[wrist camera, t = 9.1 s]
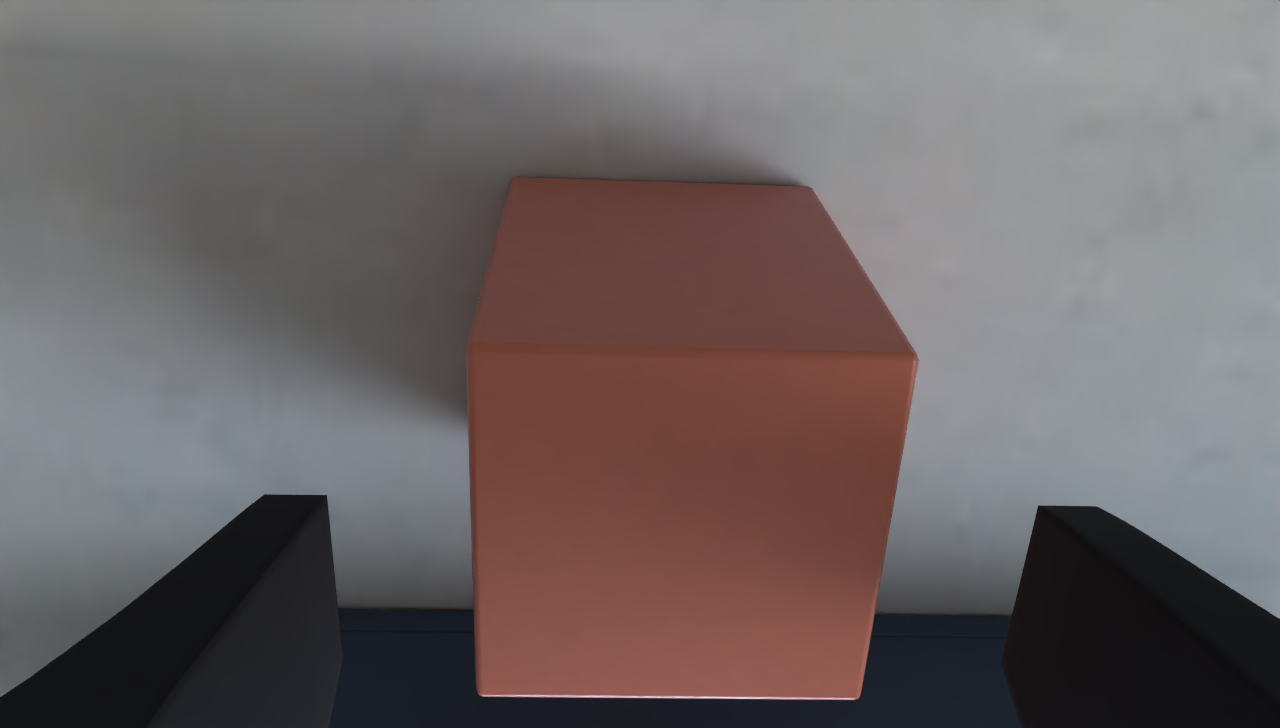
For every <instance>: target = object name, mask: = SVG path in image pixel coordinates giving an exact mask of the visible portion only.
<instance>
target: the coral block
mask: <svg viewBox="0 0 1280 728" xmlns="http://www.w3.org/2000/svg"><path fill="white" fill-rule="evenodd" d="M918 361H919V360H918V356H917V354H916V352H915V350H914V349H913V347H912V346H911V344H910V343H909V341H908V339H907V338H906V336H905V335H904V333H903V331H902V330H901V328H900V327H899V325H898V324H897V322H896V320H895V319H894V317H893V316H892V314H891V312H890V311H889V309H888V308H887V306H886V305H885V303H884V301H883V300H882V298H881V297H880V295H879V293H878V292H877V290H876V289H875V287H874V286H873V284H872V282H871V281H870V279H869V278H868V276H867V274H866V273H865V271H864V270H863V268H862V267H861V265H860V263H859V262H858V260H857V259H856V257H855V256H854V254H853V252H852V251H851V249H850V248H849V246H848V244H847V243H846V241H845V240H844V238H843V237H842V235H841V233H840V232H839V230H838V229H837V227H836V225H835V224H834V222H833V221H832V219H831V218H830V216H829V214H828V213H827V211H826V210H825V208H824V206H823V205H822V203H821V202H820V200H819V199H818V197H817V195H816V194H815V192H814V191H813V189H812V188H810V187H806V186H776V185H746V184H716V183H685V182H655V181H625V180H594V179H564V178H534V177H515V178H512V180H511V183H510V186H509V190H508V194H507V197H506V201H505V205H504V209H503V212H502V216H501V220H500V223H499V227H498V231H497V235H496V238H495V242H494V246H493V250H492V253H491V257H490V261H489V265H488V268H487V272H486V276H485V279H484V283H483V287H482V291H481V294H480V298H479V302H478V306H477V309H476V313H475V317H474V320H473V324H472V328H471V332H470V335H469V339H468V343H467V347H466V371H467V405H468V438H469V472H470V506H471V540H472V574H473V608H474V641H475V675H476V690H477V692H478V694H479V695H480V696H483V697H572V698H686V699H800V700H855V699H858V698H859V697H860V695H861V690H862V684H863V679H864V673H865V667H866V661H867V656H868V650H869V644H870V638H871V632H872V627H873V621H874V615H875V609H876V604H877V598H878V592H879V586H880V580H881V575H882V569H883V563H884V557H885V551H886V546H887V540H888V534H889V528H890V523H891V517H892V511H893V505H894V499H895V494H896V488H897V482H898V476H899V471H900V465H901V459H902V453H903V447H904V442H905V436H906V430H907V424H908V419H909V413H910V407H911V401H912V395H913V390H914V384H915V378H916V372H917V367H918Z"/></svg>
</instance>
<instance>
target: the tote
mask: <svg viewBox="0 0 1280 728" xmlns="http://www.w3.org/2000/svg"><path fill="white" fill-rule="evenodd" d="M338 615H339V625H340V635H341V646H342V656H343V660H342V665H341V670H340V674H339V679H338V684H337V689H336V694H335V699H334V704H333V709H332V713H331V718H330V722H329V726H328V728H1022V727H1021V724H1020V721H1019V718H1018V715H1017V713H1016V710H1015V706H1014V703H1013V700H1012V697H1011V694H1010V690H1009V687H1008V684H1007V681H1006V678H1005V674H1004V671H1003V668H1002V665H1001V660H1002V656H1003V652H1004V647H1005V643H1006V639H1007V635H1008V631H1009V627H1010V622H1011V618H1012V617H989V616H901V615H874V621H873V627H872V632H871V638H870V644H869V650H868V656H867V661H866V667H865V673H864V679H863V684H862V690H861V695H860V697H859V698H858V699H855V700H800V699H686V698H572V697H483V696H480V695H479V694H478V692H477V690H476V675H475V641H474V611H462V610H374V609H338Z"/></svg>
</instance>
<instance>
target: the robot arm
mask: <svg viewBox="0 0 1280 728" xmlns="http://www.w3.org/2000/svg"><path fill="white" fill-rule="evenodd" d="M342 660H343V656H342V646H341V635H340V625H339V615H338V605H337V594H336V584H335V574H334V564H333V553H332V543H331V533H330V523H329V512H328V502H327V495H267V494H265V495H263V496H262V497H261V498H259V499H258V500H257V501H255V502H254V503H253V504H251V505H250V506H249V507H248V508H246V509H245V510H244V511H243V512H242V513H240V514H239V515H238V516H237V517H235V518H234V519H233V520H232V521H231V522H229V523H228V524H227V525H226V526H225V527H223V528H222V529H221V530H220V531H219V532H217V533H216V534H215V535H214V536H213V537H211V538H210V539H209V540H208V541H207V542H205V543H204V544H203V545H202V546H201V547H199V548H198V549H197V550H196V551H195V552H193V553H192V554H191V555H190V556H189V557H187V558H186V559H185V560H184V561H183V562H181V563H180V564H179V565H178V566H176V567H175V568H174V569H173V570H171V571H170V572H169V573H168V574H166V575H165V576H164V577H163V578H161V579H160V580H159V581H158V582H156V583H155V584H154V585H153V586H152V587H150V588H149V589H148V590H147V591H145V592H144V593H143V594H142V595H140V596H139V597H138V598H137V599H135V600H134V601H133V602H132V603H130V604H129V605H128V606H127V607H125V608H124V609H123V610H121V611H120V612H119V613H117V614H116V615H115V616H113V617H112V618H111V619H109V620H108V621H107V622H105V623H104V624H102V625H101V626H100V627H98V628H97V629H96V630H94V631H93V632H91V633H90V634H89V635H87V636H86V637H85V638H83V639H82V640H81V641H79V642H78V643H76V644H75V645H74V646H72V647H71V648H70V649H68V650H67V651H65V652H64V653H63V654H61V655H60V656H59V657H57V658H56V659H55V660H53V661H52V662H50V663H49V664H48V665H46V666H45V667H44V668H42V669H41V670H39V671H38V672H37V673H35V674H34V675H33V676H31V677H30V678H28V679H27V680H25V681H24V682H22V683H21V684H19V685H18V686H17V687H15V688H14V689H12V690H11V691H9V692H8V693H6V694H5V695H3V696H2V697H0V728H328V726H329V722H330V718H331V713H332V709H333V704H334V699H335V694H336V689H337V684H338V679H339V674H340V670H341V665H342ZM1001 665H1002V668H1003V671H1004V674H1005V678H1006V681H1007V684H1008V687H1009V690H1010V694H1011V697H1012V700H1013V703H1014V706H1015V710H1016V713H1017V715H1018V718H1019V721H1020V724H1021V727H1022V728H1280V619H1279V618H1277V617H1275V616H1274V615H1272V614H1271V613H1269V612H1267V611H1266V610H1264V609H1263V608H1261V607H1260V606H1258V605H1256V604H1255V603H1253V602H1252V601H1250V600H1248V599H1247V598H1245V597H1244V596H1242V595H1241V594H1239V593H1237V592H1236V591H1234V590H1233V589H1231V588H1230V587H1228V586H1226V585H1225V584H1223V583H1222V582H1220V581H1219V580H1217V579H1216V578H1214V577H1212V576H1211V575H1209V574H1208V573H1206V572H1205V571H1203V570H1201V569H1200V568H1198V567H1197V566H1195V565H1194V564H1192V563H1191V562H1189V561H1187V560H1186V559H1184V558H1183V557H1181V556H1180V555H1178V554H1177V553H1175V552H1173V551H1172V550H1170V549H1169V548H1167V547H1165V546H1164V545H1162V544H1161V543H1159V542H1157V541H1156V540H1154V539H1153V538H1151V537H1149V536H1148V535H1146V534H1145V533H1143V532H1141V531H1140V530H1138V529H1136V528H1135V527H1133V526H1131V525H1130V524H1128V523H1126V522H1125V521H1123V520H1121V519H1119V518H1118V517H1116V516H1114V515H1112V514H1110V513H1108V512H1106V511H1104V510H1102V509H1101V508H1099V507H1096V506H1038V509H1037V514H1036V518H1035V522H1034V526H1033V530H1032V535H1031V539H1030V543H1029V547H1028V551H1027V555H1026V560H1025V564H1024V568H1023V572H1022V576H1021V581H1020V585H1019V589H1018V593H1017V597H1016V601H1015V606H1014V610H1013V614H1012V618H1011V622H1010V627H1009V631H1008V635H1007V639H1006V643H1005V647H1004V652H1003V656H1002V660H1001Z"/></svg>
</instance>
